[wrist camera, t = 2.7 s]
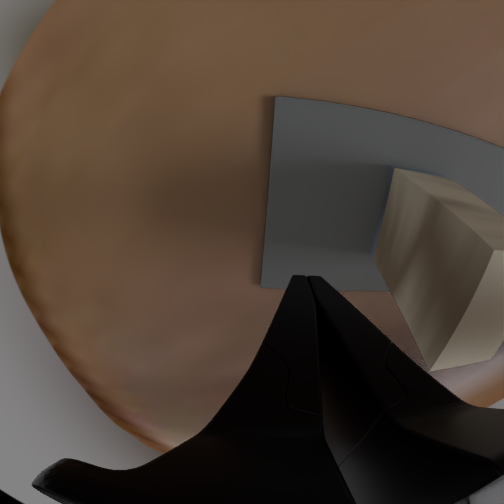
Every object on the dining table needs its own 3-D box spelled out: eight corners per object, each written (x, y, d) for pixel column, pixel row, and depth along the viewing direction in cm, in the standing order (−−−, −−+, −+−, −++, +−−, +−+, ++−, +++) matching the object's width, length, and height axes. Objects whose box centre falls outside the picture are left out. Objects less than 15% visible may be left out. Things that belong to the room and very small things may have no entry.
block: (421, 257, 16) (490, 359, 9) (369, 254, 16) (429, 371, 9) (445, 175, 13) (549, 255, 6) (390, 164, 13) (494, 250, 6)
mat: (507, 287, 17) (509, 289, 17) (260, 284, 17) (260, 287, 17) (550, 170, 12) (552, 171, 12) (275, 96, 12) (275, 96, 12)
